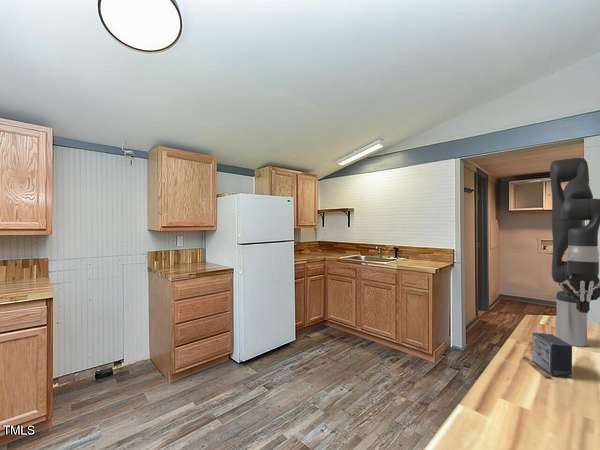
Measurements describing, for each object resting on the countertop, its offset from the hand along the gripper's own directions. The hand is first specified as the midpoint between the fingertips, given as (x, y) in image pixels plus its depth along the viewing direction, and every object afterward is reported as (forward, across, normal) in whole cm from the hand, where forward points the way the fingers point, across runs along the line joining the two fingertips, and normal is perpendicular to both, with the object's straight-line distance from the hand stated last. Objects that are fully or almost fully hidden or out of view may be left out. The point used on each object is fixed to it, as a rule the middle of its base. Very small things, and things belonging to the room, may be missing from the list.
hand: (582, 312), depth 96 cm
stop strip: (+20, +13, 0) cm, 24 cm away
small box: (+20, +9, 0) cm, 22 cm away
